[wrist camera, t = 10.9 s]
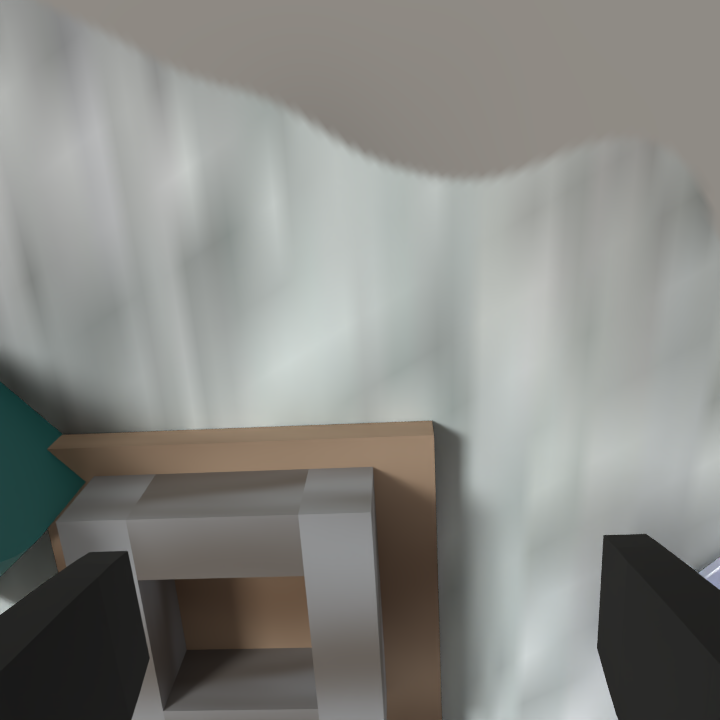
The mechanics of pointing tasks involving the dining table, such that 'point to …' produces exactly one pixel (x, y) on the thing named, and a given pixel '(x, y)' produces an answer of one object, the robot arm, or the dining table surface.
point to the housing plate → (289, 593)
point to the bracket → (28, 478)
